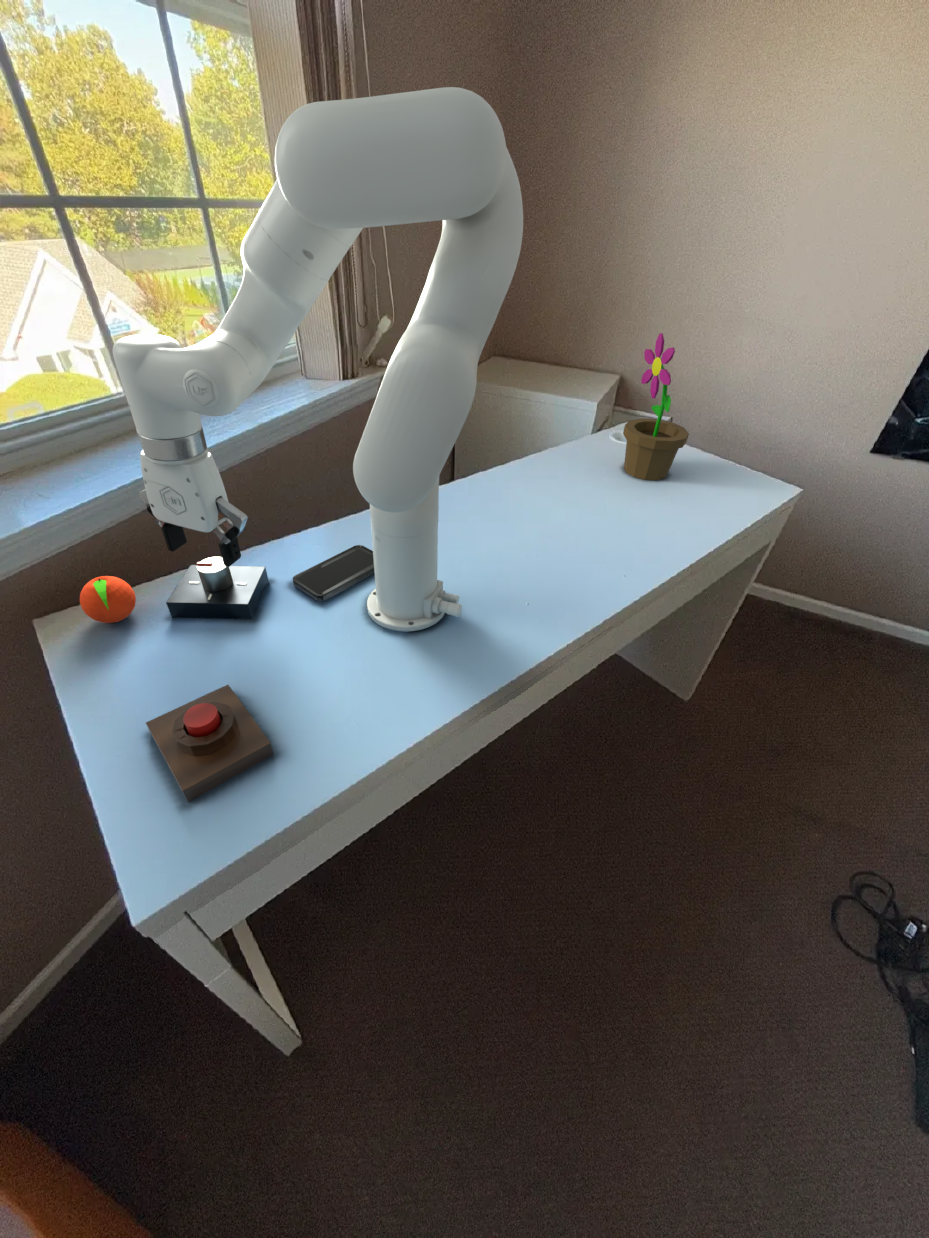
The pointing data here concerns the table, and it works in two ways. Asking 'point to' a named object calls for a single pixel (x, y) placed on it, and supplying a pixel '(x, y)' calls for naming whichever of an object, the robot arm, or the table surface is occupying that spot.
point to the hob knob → (214, 574)
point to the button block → (210, 744)
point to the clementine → (107, 599)
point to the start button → (202, 720)
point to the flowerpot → (654, 425)
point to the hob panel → (219, 595)
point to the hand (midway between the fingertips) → (205, 554)
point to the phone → (336, 573)
